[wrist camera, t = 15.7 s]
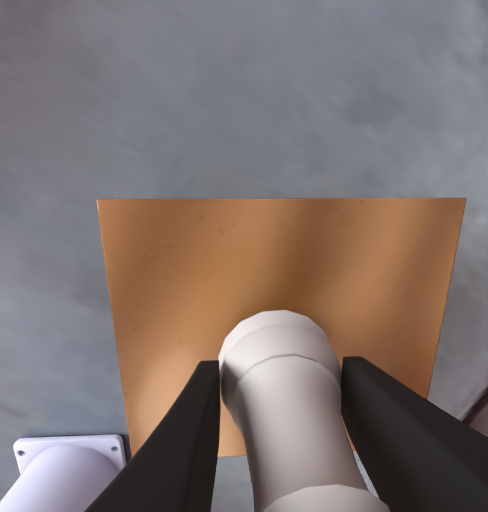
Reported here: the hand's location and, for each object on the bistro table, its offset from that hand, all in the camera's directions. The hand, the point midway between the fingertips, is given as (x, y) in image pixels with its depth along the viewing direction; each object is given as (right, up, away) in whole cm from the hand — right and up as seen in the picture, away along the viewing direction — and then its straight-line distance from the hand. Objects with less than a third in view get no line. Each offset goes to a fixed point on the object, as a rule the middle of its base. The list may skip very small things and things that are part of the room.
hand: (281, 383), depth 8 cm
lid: (0, +1, +3) cm, 3 cm away
